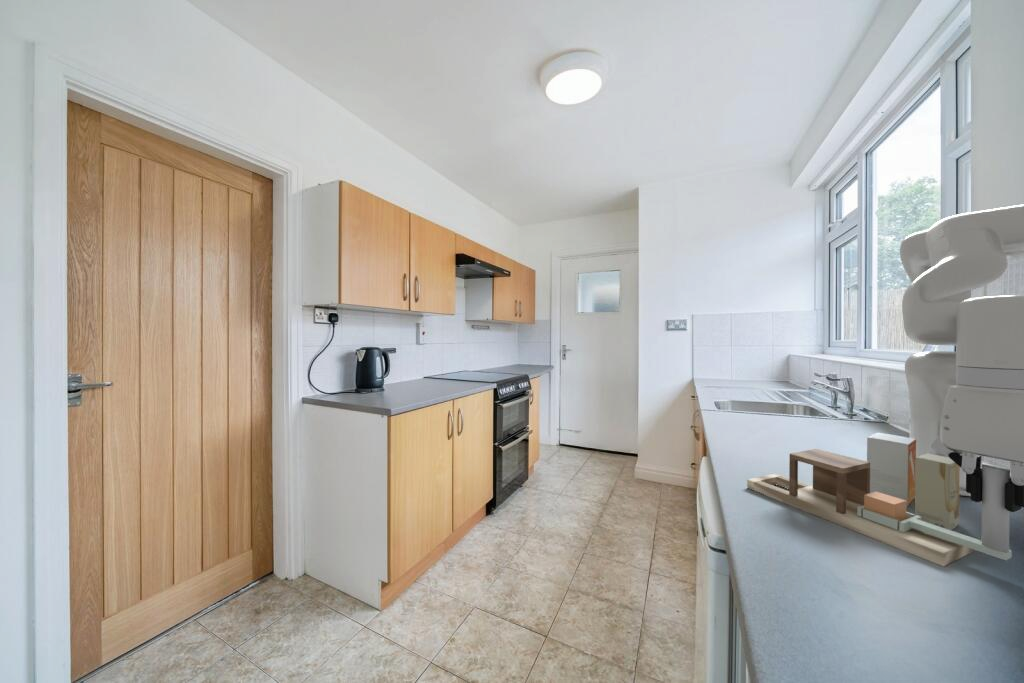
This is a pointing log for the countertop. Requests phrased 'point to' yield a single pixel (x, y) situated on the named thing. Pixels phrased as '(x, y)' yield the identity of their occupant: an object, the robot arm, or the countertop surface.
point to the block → (886, 505)
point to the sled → (992, 518)
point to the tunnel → (833, 476)
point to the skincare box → (937, 490)
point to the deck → (859, 520)
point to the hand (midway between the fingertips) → (995, 503)
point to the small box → (892, 465)
